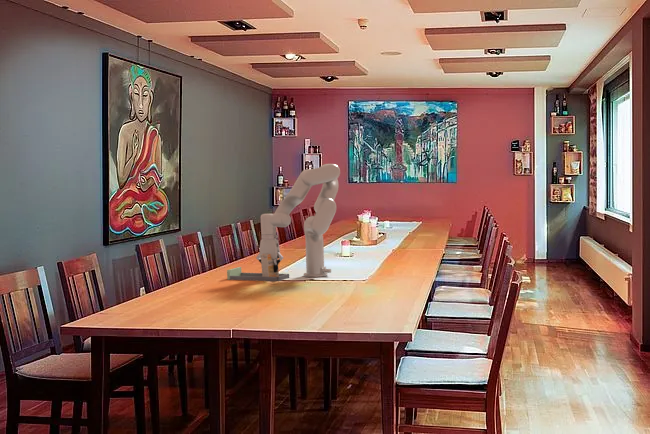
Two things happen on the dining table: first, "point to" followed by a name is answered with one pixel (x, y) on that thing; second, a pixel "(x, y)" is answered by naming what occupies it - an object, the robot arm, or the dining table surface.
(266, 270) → the supplement box
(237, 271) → the trap channel
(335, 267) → the dining table surface
